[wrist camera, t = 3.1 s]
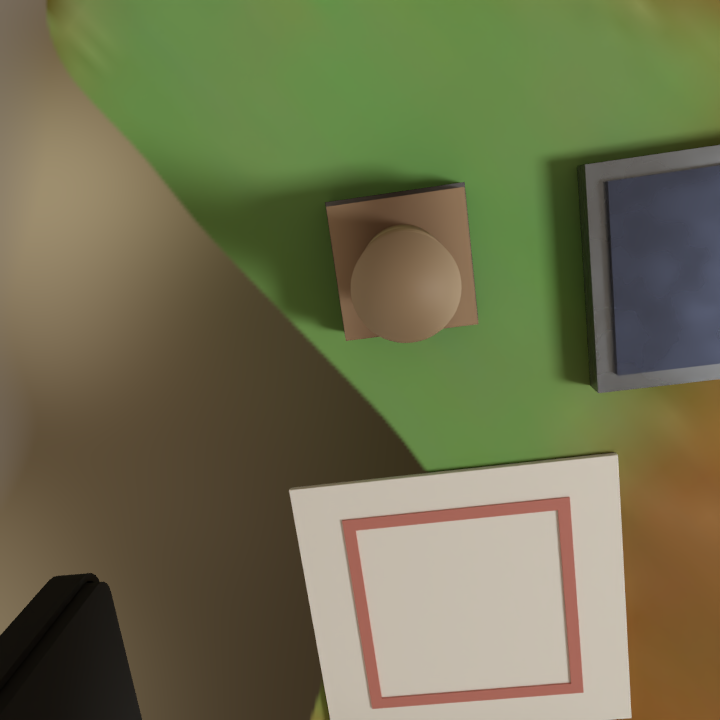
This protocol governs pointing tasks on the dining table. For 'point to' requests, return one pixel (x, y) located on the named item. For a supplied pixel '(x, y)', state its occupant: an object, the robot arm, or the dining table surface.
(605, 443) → the dining table surface
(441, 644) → the paper sheet
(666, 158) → the ink pad
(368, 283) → the stamp
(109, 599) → the robot arm
